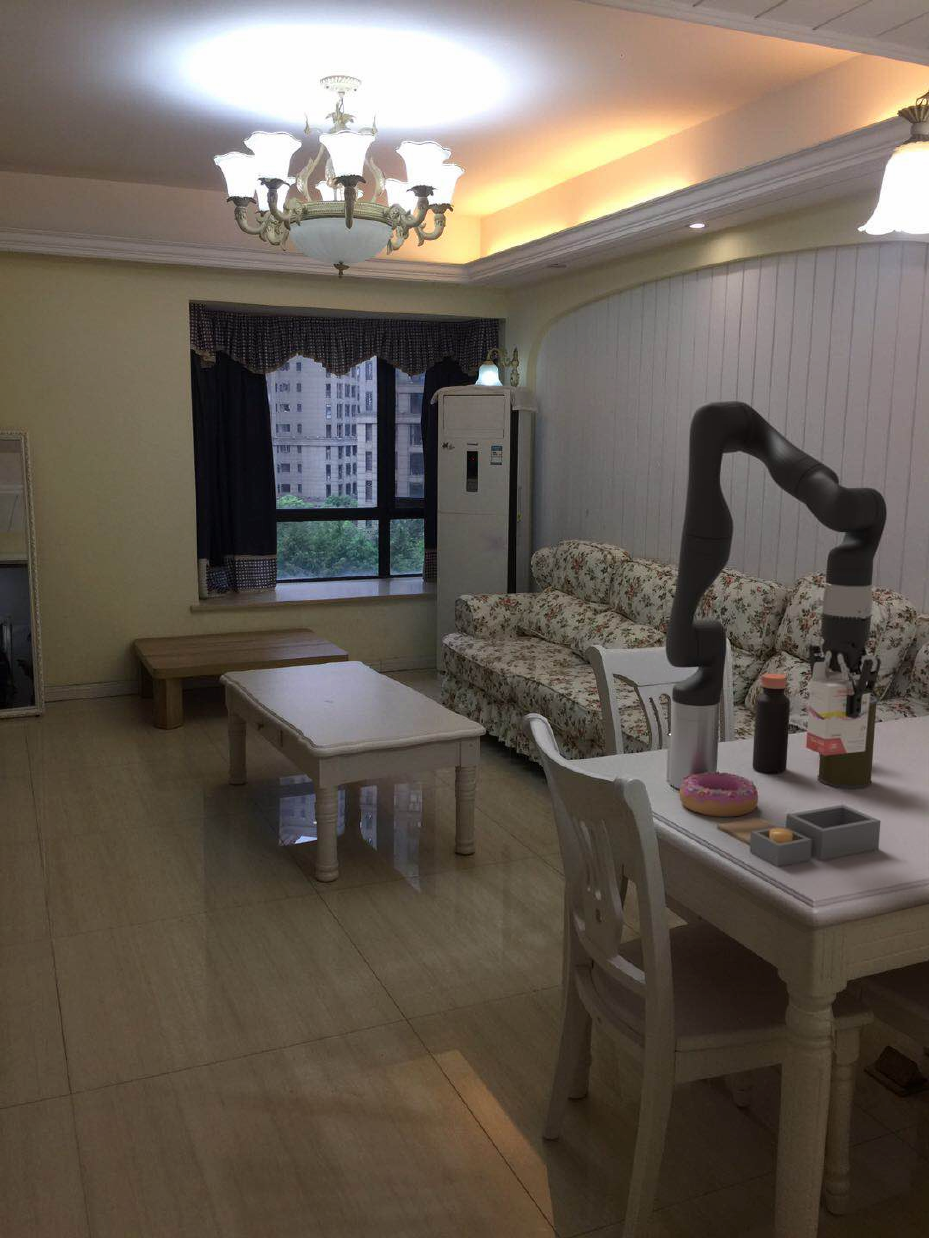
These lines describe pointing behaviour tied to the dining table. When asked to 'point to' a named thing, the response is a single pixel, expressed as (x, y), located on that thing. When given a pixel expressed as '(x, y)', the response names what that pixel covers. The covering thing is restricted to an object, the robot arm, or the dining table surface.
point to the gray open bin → (836, 831)
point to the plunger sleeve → (780, 847)
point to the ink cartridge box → (834, 716)
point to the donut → (718, 794)
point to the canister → (851, 761)
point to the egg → (780, 835)
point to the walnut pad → (744, 828)
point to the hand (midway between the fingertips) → (839, 712)
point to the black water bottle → (771, 726)
